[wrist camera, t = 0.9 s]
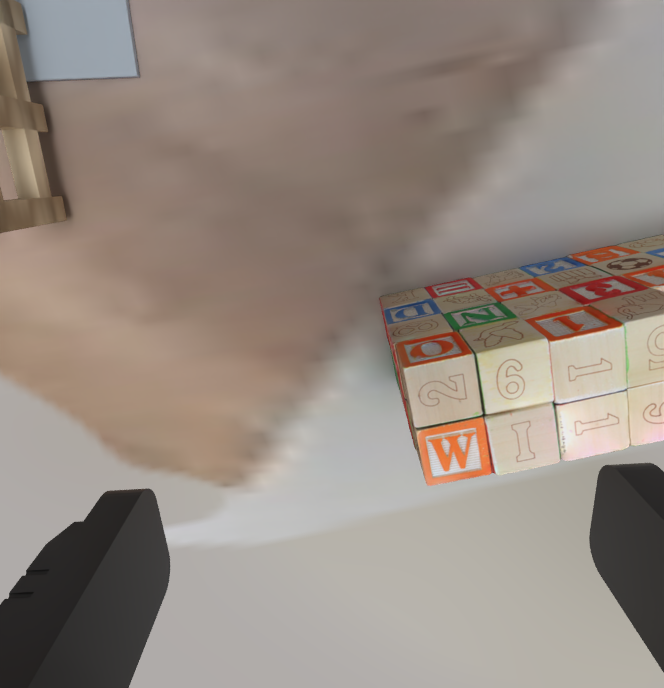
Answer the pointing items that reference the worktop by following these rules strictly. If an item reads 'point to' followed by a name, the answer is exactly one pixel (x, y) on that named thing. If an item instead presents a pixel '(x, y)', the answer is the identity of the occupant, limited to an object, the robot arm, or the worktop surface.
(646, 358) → the stack of blocks
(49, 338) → the worktop surface
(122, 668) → the robot arm
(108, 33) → the card
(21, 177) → the hinged fence panel
